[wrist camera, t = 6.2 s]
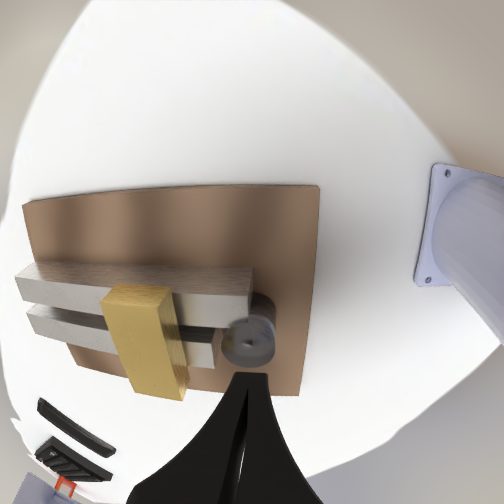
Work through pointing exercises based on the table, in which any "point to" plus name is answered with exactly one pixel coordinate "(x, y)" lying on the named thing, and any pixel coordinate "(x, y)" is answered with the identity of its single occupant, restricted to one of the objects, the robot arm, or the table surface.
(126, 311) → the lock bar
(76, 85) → the table surface
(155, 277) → the fixed tong arm
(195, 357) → the bar
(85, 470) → the computer keyboard
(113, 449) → the phone
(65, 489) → the file binder
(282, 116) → the table surface
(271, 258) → the walnut board
